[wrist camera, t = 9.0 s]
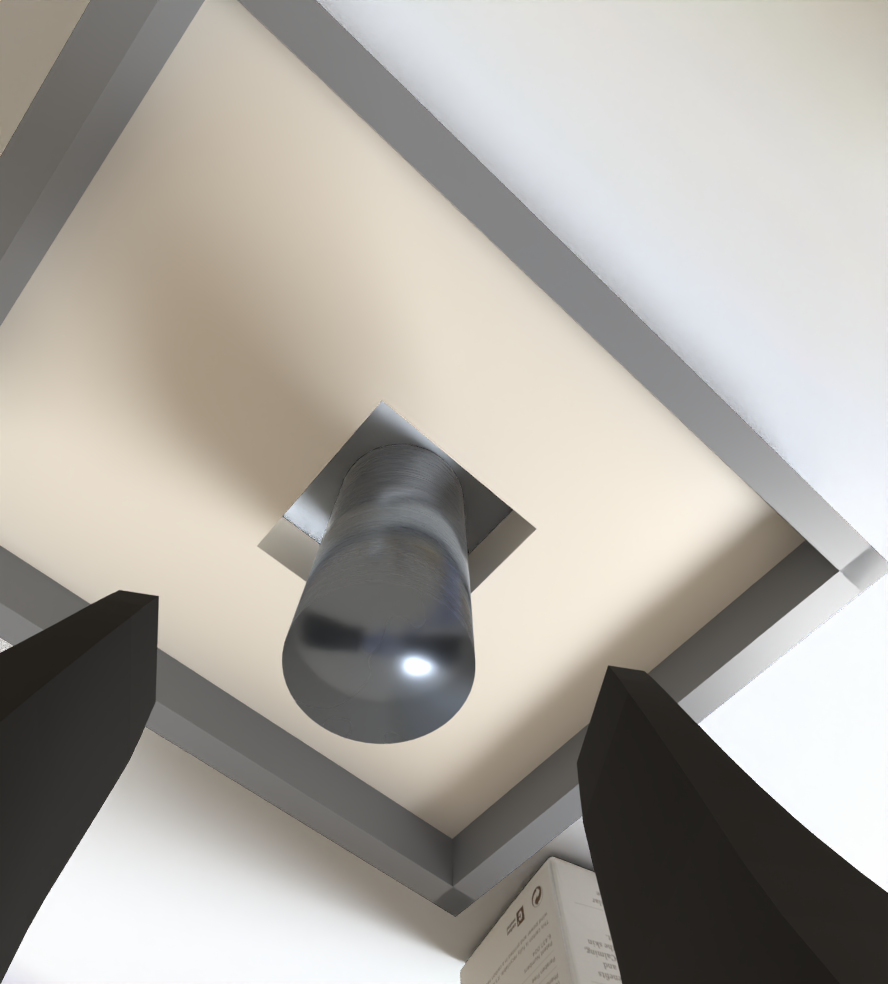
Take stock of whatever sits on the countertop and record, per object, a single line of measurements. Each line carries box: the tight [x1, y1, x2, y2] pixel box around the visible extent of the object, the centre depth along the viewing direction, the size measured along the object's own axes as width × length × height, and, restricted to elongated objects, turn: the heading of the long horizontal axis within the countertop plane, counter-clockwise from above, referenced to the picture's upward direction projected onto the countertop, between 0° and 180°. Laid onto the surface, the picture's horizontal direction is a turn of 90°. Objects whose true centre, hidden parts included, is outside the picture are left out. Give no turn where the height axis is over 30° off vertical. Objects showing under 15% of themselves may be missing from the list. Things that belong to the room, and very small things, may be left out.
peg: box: [282, 444, 475, 744], centre depth 15 cm, size 3×3×7 cm
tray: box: [0, 0, 888, 917], centre depth 16 cm, size 14×18×4 cm
